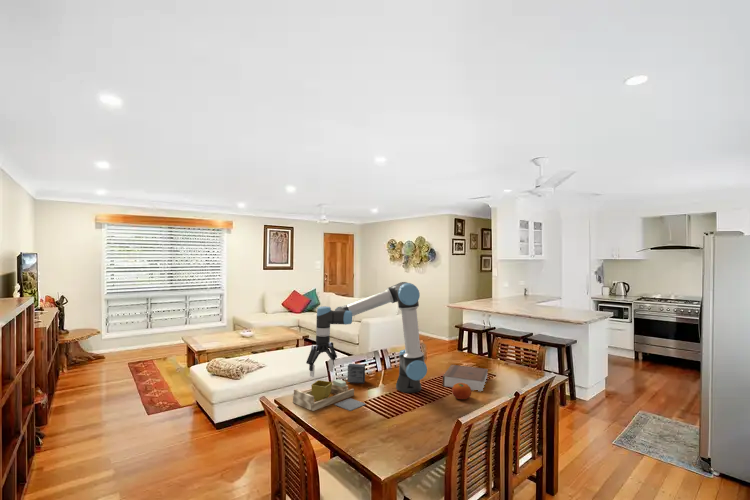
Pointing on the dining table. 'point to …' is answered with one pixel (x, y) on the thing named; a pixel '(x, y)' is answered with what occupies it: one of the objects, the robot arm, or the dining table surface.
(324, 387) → the flower pot
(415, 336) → the robot arm
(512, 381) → the dining table surface
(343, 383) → the offcut sage
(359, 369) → the small box
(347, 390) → the offcut walnut
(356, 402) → the felt mat
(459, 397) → the fruit
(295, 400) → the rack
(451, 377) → the book
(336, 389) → the offcut oak
